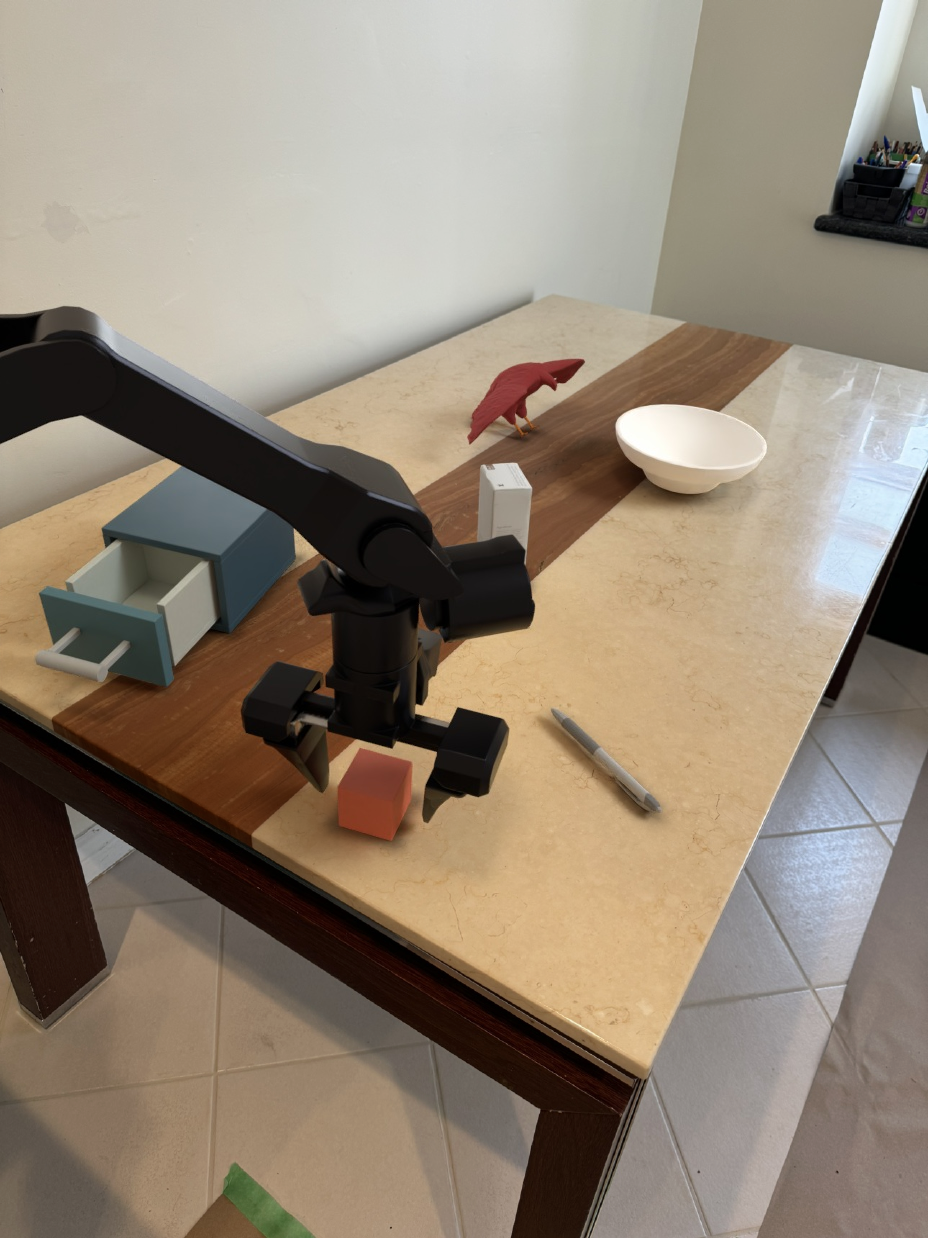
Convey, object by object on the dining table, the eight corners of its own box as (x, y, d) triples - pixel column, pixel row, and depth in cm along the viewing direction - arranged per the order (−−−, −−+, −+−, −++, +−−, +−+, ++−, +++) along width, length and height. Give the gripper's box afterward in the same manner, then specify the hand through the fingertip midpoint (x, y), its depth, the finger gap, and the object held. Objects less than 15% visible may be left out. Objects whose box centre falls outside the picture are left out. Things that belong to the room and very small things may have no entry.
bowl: (734, 453, 126) (746, 408, 122) (770, 522, 110) (785, 473, 106) (599, 445, 125) (607, 399, 121) (616, 513, 109) (626, 463, 105)
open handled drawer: (134, 723, 74) (119, 656, 69) (19, 691, 76) (-3, 624, 71) (241, 604, 88) (234, 543, 83) (142, 580, 90) (130, 519, 86)
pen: (654, 822, 70) (657, 810, 69) (545, 717, 78) (547, 706, 78) (663, 816, 70) (666, 805, 69) (554, 713, 79) (556, 702, 78)
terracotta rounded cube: (391, 841, 66) (392, 802, 64) (338, 826, 67) (336, 787, 65) (411, 800, 70) (412, 761, 67) (360, 785, 71) (359, 747, 68)
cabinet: (230, 633, 85) (220, 555, 80) (117, 605, 88) (100, 527, 83) (296, 558, 97) (291, 485, 91) (194, 535, 99) (184, 463, 94)
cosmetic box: (525, 587, 95) (537, 488, 88) (485, 590, 94) (494, 490, 87) (510, 557, 100) (520, 460, 93) (472, 559, 99) (479, 462, 92)
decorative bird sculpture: (449, 490, 121) (521, 437, 110) (409, 434, 120) (478, 375, 109) (545, 424, 140) (613, 373, 130) (512, 375, 139) (578, 320, 129)
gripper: (537, 611, 63) (516, 763, 72) (300, 557, 67) (309, 708, 76) (496, 710, 54) (478, 868, 64) (227, 641, 58) (247, 800, 67)
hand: (375, 803), depth 68 cm, fingers open, 8 cm apart
